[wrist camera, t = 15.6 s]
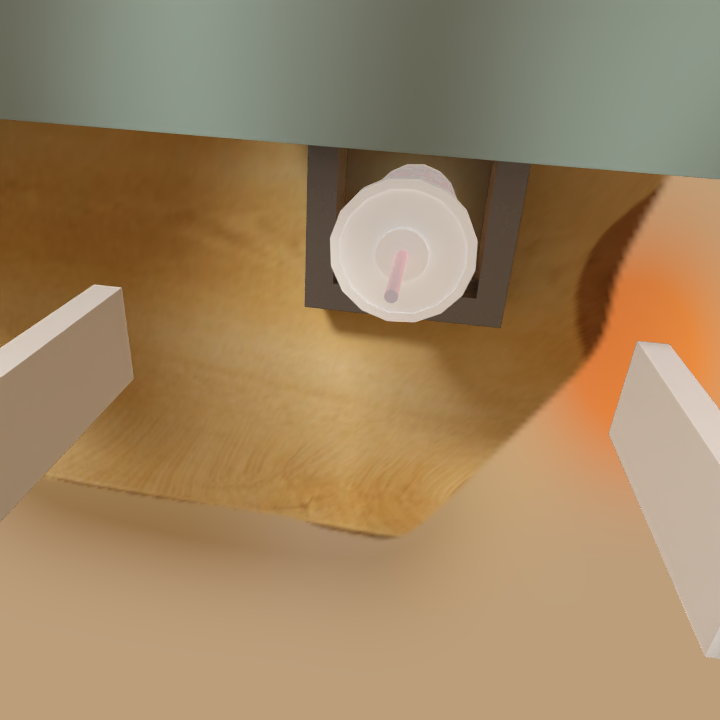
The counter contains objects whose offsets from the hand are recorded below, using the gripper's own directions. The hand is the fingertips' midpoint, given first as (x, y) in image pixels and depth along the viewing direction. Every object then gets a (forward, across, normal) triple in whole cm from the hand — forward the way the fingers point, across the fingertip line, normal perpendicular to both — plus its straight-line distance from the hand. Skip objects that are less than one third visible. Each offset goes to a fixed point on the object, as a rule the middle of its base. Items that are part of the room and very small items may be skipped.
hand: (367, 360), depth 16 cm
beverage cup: (+19, 0, 0) cm, 19 cm away
